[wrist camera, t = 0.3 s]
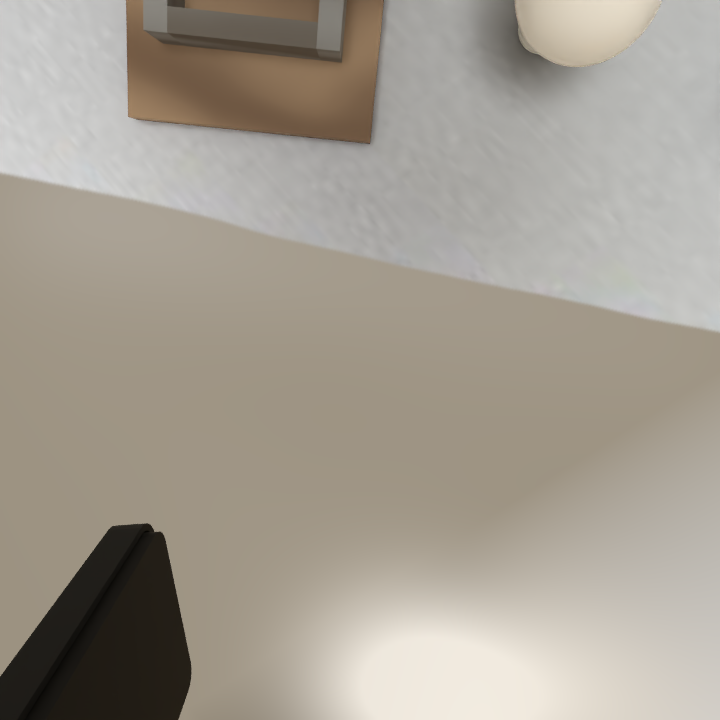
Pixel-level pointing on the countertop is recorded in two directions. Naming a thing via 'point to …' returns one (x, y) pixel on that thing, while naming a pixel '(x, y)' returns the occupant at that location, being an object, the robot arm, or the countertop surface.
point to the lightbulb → (582, 28)
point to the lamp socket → (256, 65)
